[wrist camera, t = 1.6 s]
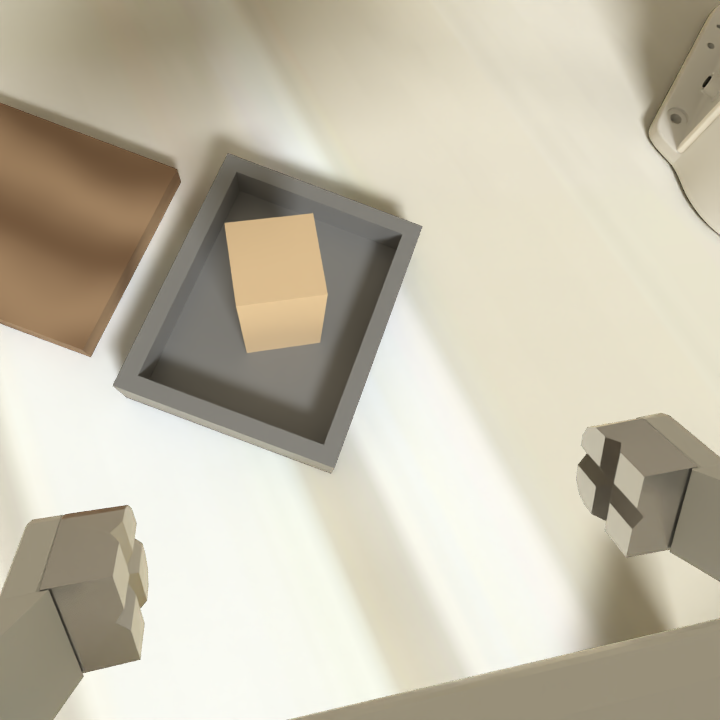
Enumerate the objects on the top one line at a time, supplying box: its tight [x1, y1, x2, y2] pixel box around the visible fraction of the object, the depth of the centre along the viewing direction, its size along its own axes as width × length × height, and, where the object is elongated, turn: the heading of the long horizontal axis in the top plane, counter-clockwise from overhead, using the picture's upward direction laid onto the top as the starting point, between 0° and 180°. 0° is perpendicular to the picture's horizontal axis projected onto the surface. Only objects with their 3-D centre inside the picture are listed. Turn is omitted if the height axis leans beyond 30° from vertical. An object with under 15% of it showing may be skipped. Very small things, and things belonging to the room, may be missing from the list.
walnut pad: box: [0, 103, 181, 357], centre depth 38 cm, size 13×13×2 cm
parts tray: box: [113, 153, 422, 473], centre depth 38 cm, size 16×13×3 cm
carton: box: [224, 213, 328, 353], centre depth 35 cm, size 5×4×8 cm
